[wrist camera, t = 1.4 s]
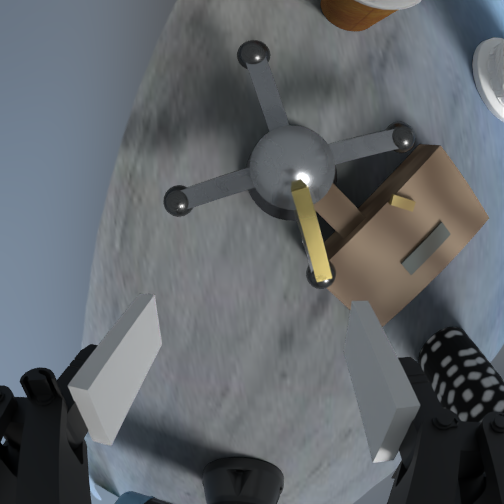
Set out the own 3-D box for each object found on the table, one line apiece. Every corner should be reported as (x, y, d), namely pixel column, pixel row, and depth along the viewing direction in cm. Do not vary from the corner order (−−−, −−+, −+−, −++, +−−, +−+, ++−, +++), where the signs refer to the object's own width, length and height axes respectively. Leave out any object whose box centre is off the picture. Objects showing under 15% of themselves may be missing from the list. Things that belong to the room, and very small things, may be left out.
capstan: (156, 99, 31) (107, 83, 20) (352, 41, 27) (385, 1, 17) (221, 282, 37) (201, 337, 26) (404, 230, 34) (452, 267, 23)
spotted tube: (408, 358, 39) (462, 470, 20) (451, 316, 37) (528, 415, 18) (435, 381, 41) (485, 481, 22) (475, 344, 38) (541, 434, 19)
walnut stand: (364, 311, 37) (376, 336, 32) (268, 221, 35) (267, 235, 29) (466, 208, 32) (492, 219, 27) (383, 103, 30) (402, 96, 24)
